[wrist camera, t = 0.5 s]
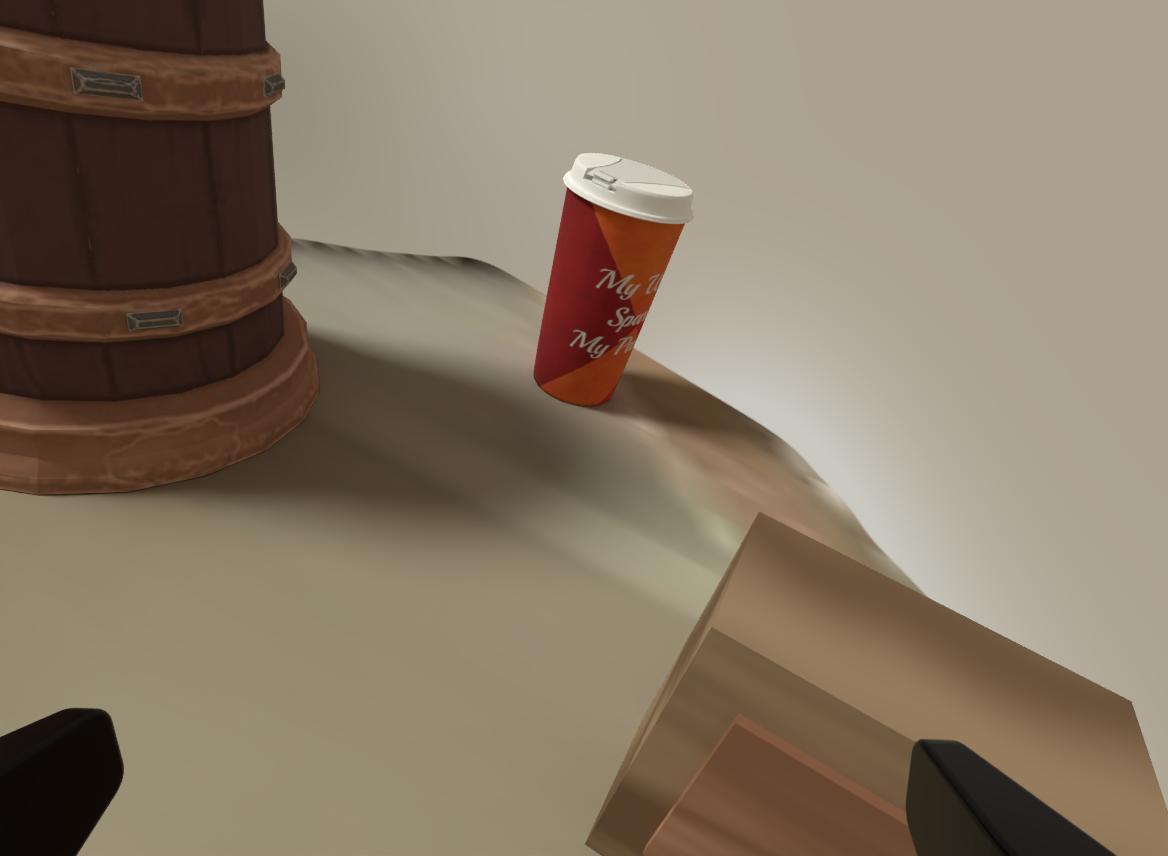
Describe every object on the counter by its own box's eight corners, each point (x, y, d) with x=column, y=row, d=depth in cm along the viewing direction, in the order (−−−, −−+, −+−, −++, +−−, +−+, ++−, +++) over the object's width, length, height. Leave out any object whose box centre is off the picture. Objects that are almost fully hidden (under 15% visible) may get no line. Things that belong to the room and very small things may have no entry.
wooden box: (892, 1069, 18) (1202, 918, 12) (580, 853, 20) (707, 636, 14) (899, 882, 22) (1131, 701, 16) (641, 721, 25) (759, 511, 18)
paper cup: (582, 430, 39) (655, 203, 32) (493, 369, 42) (540, 148, 35) (649, 394, 45) (725, 195, 37) (567, 343, 48) (621, 149, 41)
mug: (-215, 282, 32) (-477, -292, 21) (289, 291, 44) (292, -69, 33) (-414, 557, 20) (-1287, -461, 9) (356, 465, 32) (396, -10, 21)
